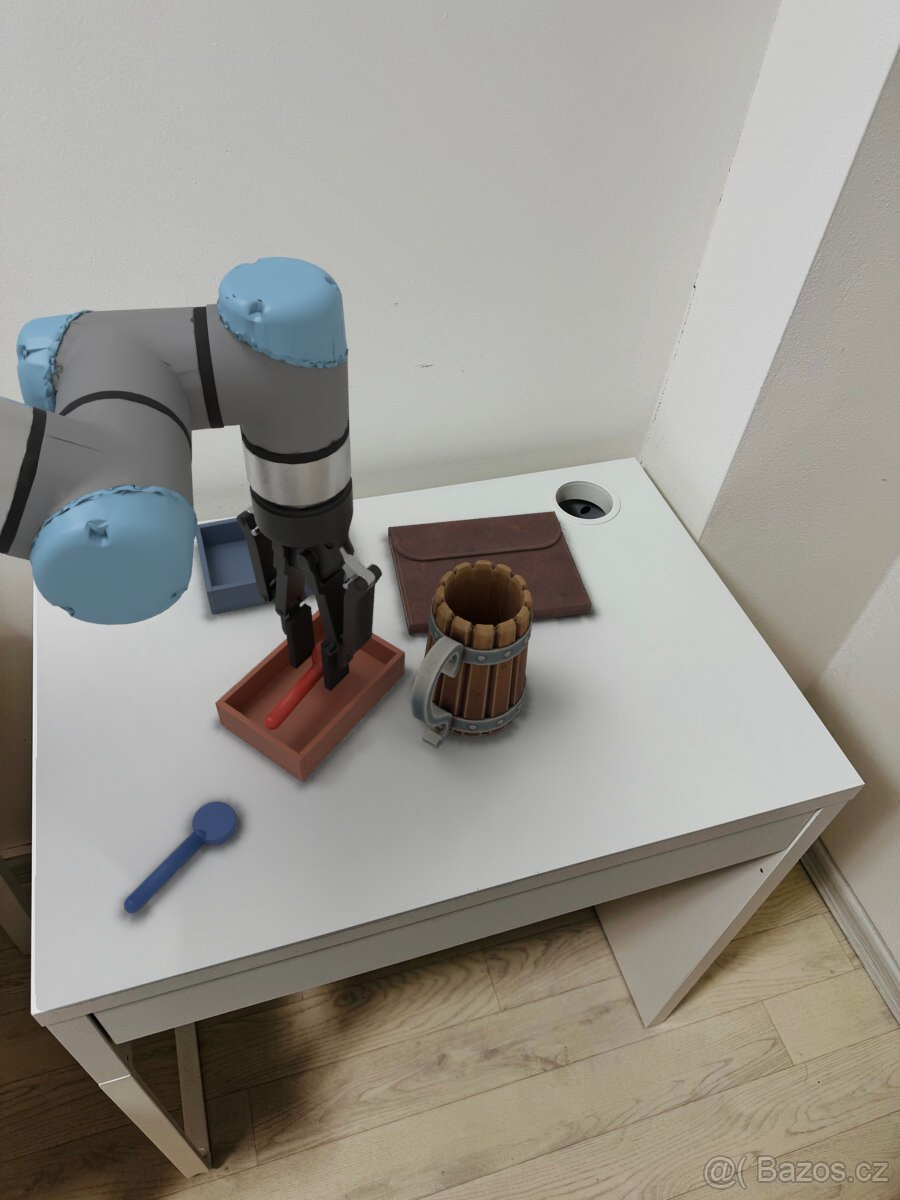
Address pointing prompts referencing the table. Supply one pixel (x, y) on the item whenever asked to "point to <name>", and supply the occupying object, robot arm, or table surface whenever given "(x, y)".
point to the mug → (474, 653)
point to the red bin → (308, 702)
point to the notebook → (505, 540)
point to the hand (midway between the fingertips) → (320, 668)
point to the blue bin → (228, 566)
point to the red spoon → (297, 691)
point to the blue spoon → (186, 850)
